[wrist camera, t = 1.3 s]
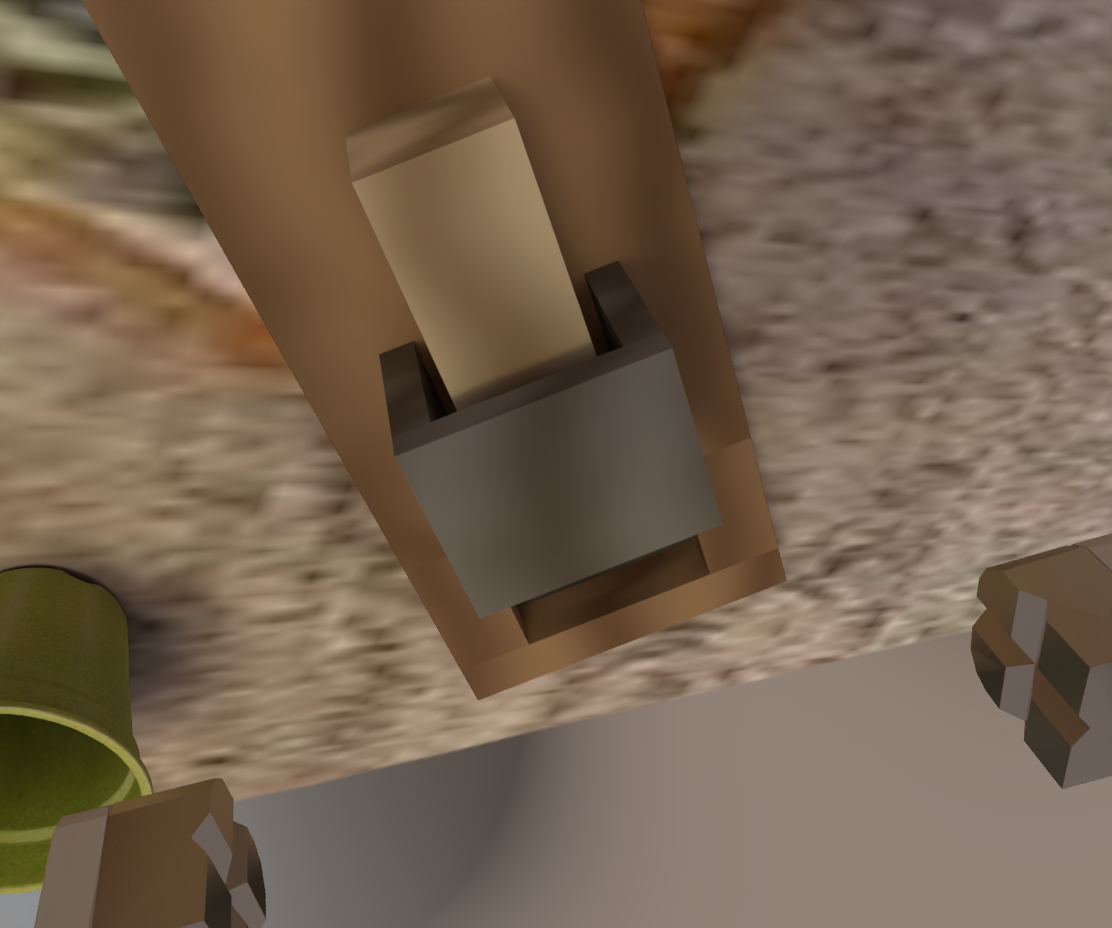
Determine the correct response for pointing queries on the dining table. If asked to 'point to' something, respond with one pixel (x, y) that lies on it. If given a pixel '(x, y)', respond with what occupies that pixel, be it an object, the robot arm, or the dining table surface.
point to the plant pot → (60, 714)
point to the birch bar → (470, 242)
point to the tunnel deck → (400, 350)
